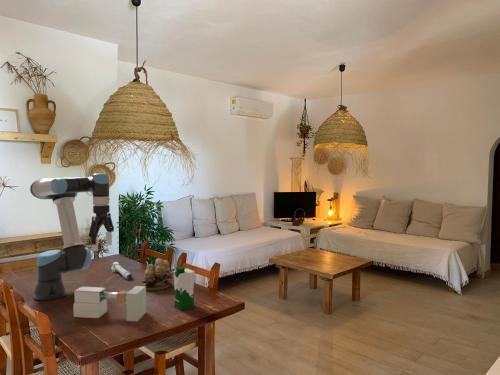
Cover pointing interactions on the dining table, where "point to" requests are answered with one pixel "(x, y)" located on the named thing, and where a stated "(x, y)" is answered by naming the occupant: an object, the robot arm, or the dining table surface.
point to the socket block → (136, 303)
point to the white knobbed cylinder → (121, 271)
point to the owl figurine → (157, 276)
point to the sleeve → (89, 302)
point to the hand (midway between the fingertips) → (102, 247)
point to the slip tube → (114, 296)
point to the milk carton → (184, 288)
